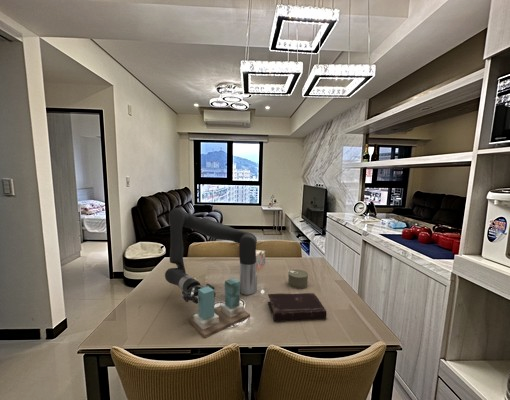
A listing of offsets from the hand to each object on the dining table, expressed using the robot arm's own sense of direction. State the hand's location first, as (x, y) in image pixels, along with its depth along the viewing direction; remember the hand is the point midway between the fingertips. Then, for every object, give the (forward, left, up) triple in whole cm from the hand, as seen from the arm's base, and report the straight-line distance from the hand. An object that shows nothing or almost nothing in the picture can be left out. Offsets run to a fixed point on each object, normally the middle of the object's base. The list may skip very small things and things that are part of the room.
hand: (206, 298), depth 109 cm
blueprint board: (-7, 0, -12) cm, 14 cm away
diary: (-40, +17, -13) cm, 46 cm away
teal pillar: (0, 0, -8) cm, 8 cm away
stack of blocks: (-62, -37, -13) cm, 74 cm away
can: (-64, -1, -13) cm, 65 cm away
